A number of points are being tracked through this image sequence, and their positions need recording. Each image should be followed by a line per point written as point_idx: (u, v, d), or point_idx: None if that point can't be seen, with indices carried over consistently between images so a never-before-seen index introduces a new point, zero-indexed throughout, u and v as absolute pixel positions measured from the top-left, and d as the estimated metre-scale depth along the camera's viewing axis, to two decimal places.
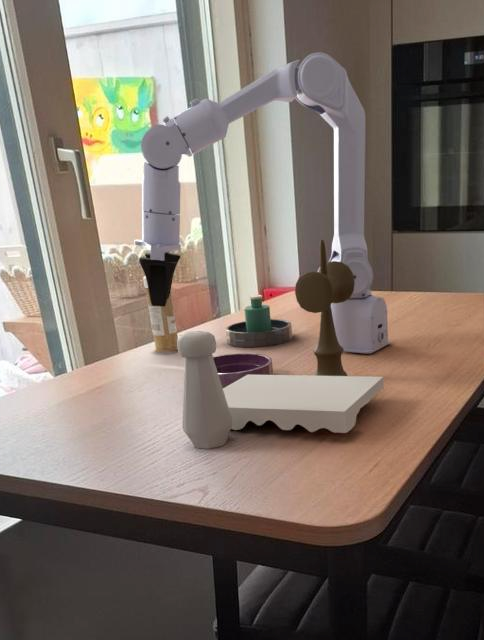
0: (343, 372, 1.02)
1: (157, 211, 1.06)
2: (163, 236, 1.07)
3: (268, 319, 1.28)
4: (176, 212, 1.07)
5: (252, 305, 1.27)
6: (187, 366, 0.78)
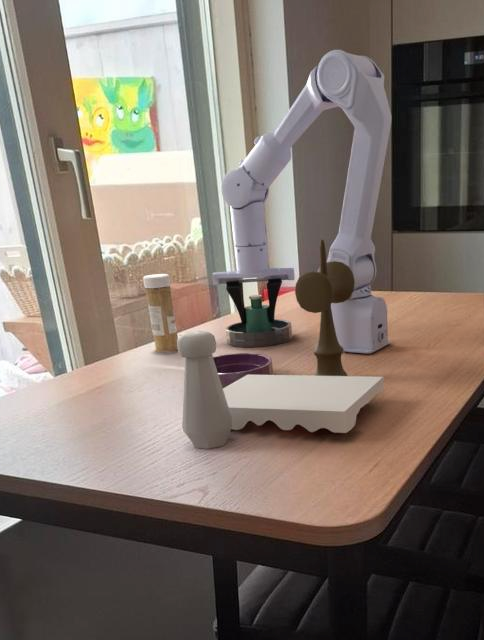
0: (343, 372, 1.02)
1: (239, 245, 1.21)
2: None
3: (268, 319, 1.28)
4: (257, 243, 1.21)
5: (252, 305, 1.27)
6: (187, 366, 0.78)
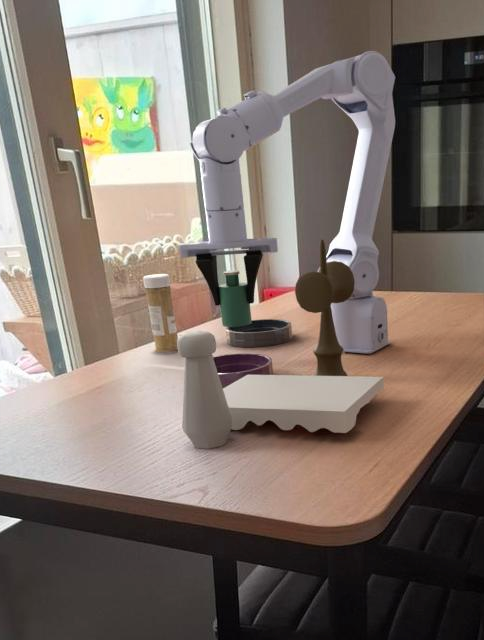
0: (343, 372, 1.02)
1: (229, 208, 1.01)
2: (208, 234, 1.04)
3: (246, 299, 1.08)
4: (243, 206, 1.03)
5: (227, 282, 1.07)
6: (187, 366, 0.78)
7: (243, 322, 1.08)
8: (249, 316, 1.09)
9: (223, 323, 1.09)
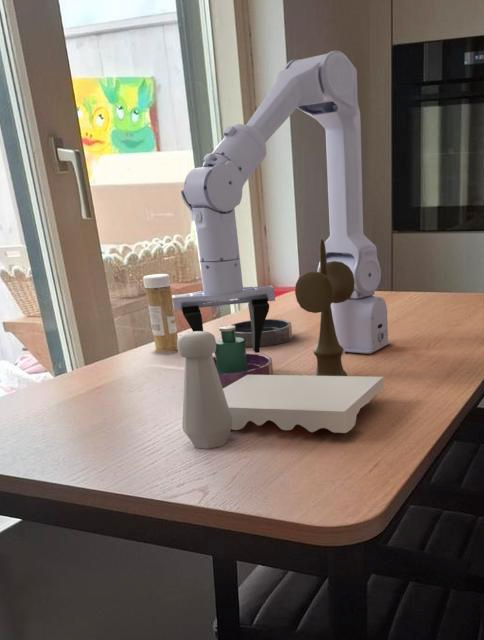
0: (343, 372, 1.02)
1: (229, 258, 0.96)
2: (203, 285, 0.99)
3: (245, 354, 1.04)
4: (239, 255, 0.99)
5: (224, 338, 1.02)
6: (187, 366, 0.78)
7: None
8: None
9: None
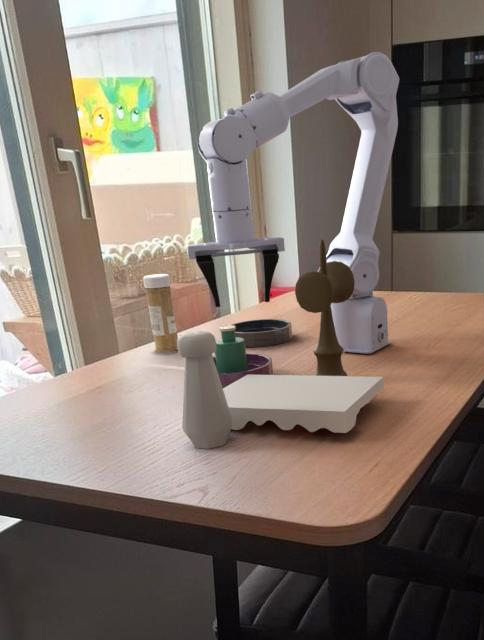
0: (343, 372, 1.02)
1: (237, 208, 1.01)
2: None
3: (245, 354, 1.04)
4: (250, 206, 1.03)
5: (224, 338, 1.02)
6: (187, 366, 0.78)
7: None
8: None
9: None
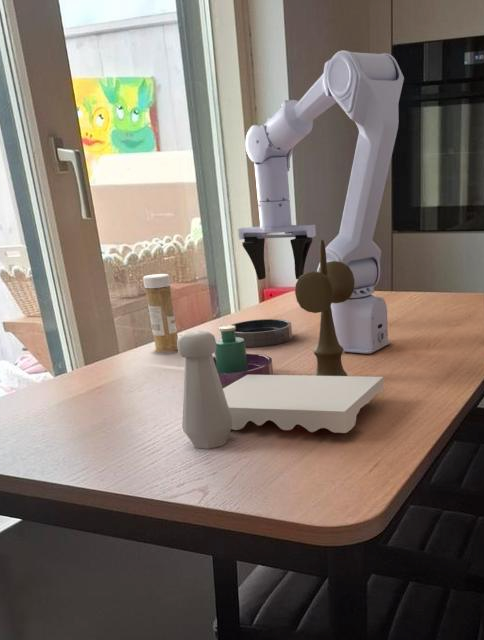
0: (343, 372, 1.02)
1: (259, 200, 1.24)
2: (290, 219, 1.26)
3: (245, 354, 1.04)
4: (274, 199, 1.23)
5: (224, 338, 1.02)
6: (187, 366, 0.78)
7: None
8: None
9: None
